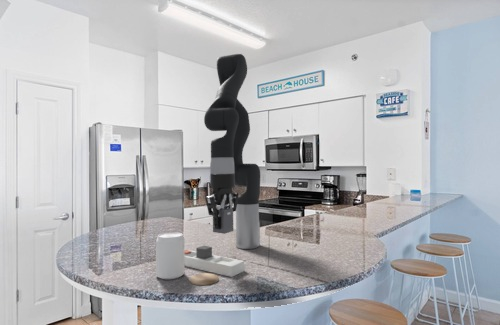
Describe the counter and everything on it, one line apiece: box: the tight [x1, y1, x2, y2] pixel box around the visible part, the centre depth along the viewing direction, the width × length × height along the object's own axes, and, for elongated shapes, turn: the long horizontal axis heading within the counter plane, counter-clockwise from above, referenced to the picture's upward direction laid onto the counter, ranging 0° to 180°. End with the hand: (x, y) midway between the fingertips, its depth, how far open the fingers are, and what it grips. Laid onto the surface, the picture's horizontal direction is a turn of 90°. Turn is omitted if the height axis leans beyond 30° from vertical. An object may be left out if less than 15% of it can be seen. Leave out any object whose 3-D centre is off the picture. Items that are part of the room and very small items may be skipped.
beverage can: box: [155, 232, 186, 280], centre depth 93 cm, size 8×8×12 cm
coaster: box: [189, 272, 219, 286], centre depth 90 cm, size 8×8×1 cm
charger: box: [212, 208, 234, 235], centre depth 98 cm, size 4×5×7 cm
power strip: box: [184, 245, 245, 278], centre depth 102 cm, size 6×26×6 cm, turn 56°
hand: (223, 227), depth 98 cm, fingers closed on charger, 4 cm apart
